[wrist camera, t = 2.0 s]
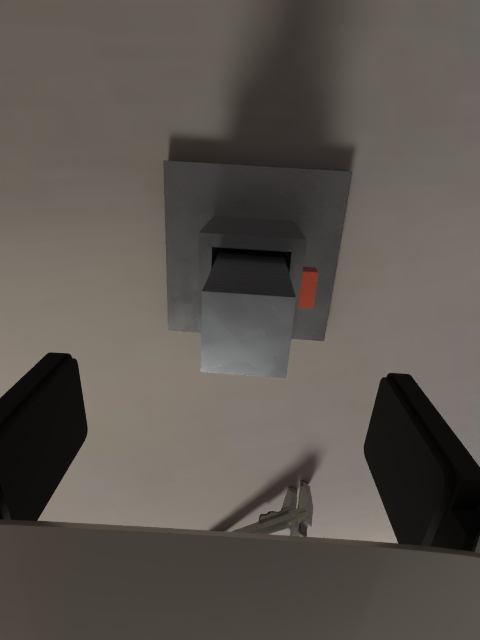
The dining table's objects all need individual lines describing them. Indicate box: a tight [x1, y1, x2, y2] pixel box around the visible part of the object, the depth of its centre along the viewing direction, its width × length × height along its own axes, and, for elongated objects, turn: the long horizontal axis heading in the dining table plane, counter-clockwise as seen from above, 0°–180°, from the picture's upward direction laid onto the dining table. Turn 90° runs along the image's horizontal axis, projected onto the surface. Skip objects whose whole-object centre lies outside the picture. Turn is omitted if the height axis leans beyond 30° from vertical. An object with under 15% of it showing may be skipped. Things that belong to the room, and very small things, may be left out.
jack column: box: [201, 248, 296, 378], centre depth 22 cm, size 4×4×14 cm
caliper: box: [232, 481, 313, 537], centre depth 41 cm, size 20×1×6 cm, turn 133°
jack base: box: [164, 160, 352, 341], centre depth 26 cm, size 14×14×9 cm
